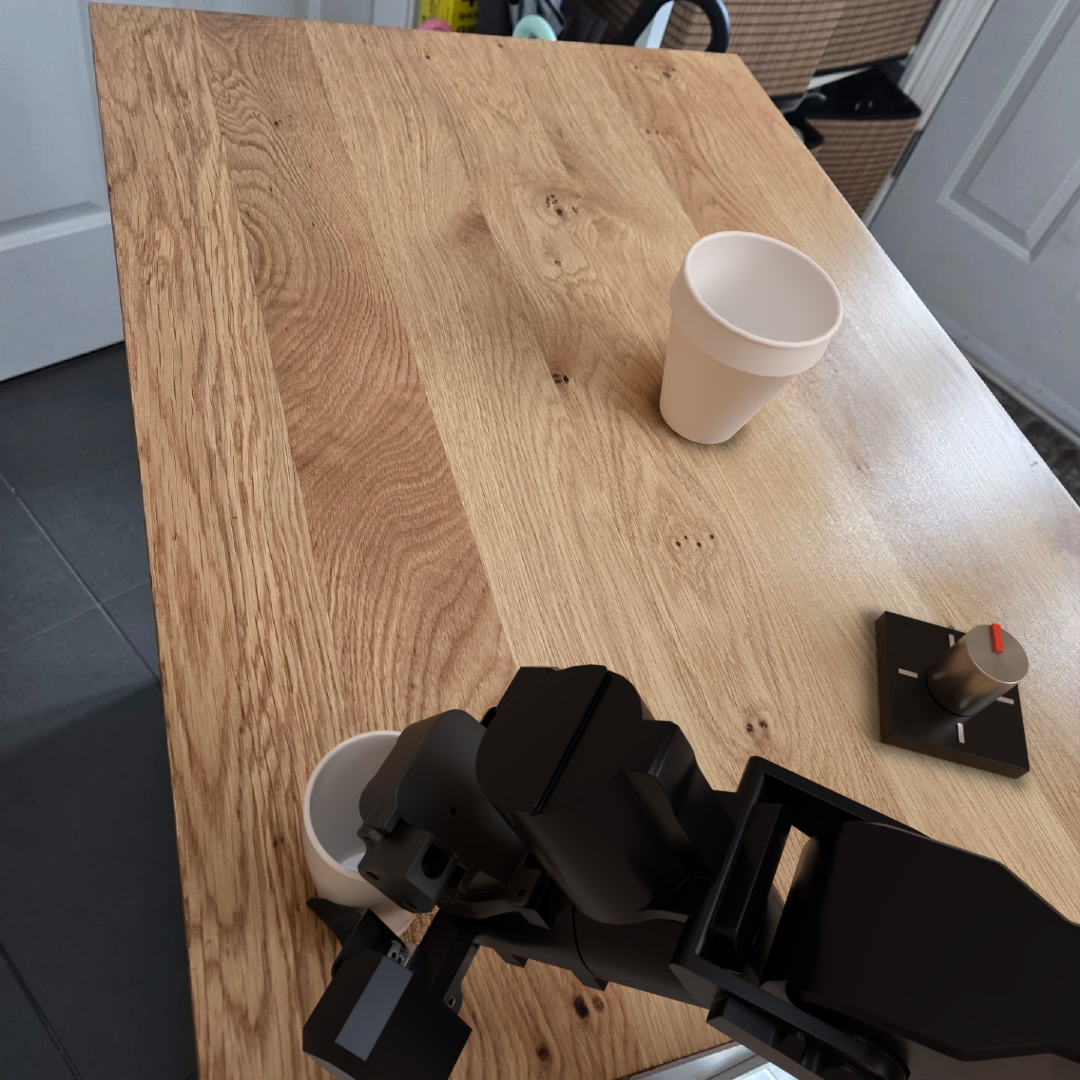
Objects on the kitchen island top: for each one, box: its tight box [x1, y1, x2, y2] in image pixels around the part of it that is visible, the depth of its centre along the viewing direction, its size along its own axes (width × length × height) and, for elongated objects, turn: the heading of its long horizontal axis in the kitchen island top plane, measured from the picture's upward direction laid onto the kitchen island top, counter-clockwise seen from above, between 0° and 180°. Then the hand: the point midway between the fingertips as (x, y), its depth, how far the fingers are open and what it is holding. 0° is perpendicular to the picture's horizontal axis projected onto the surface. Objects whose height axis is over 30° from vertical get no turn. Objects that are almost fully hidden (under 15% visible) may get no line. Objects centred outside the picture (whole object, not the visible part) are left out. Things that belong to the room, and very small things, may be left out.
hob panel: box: [875, 610, 1031, 779], centre depth 68 cm, size 10×10×2 cm
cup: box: [659, 230, 844, 445], centre depth 74 cm, size 12×12×14 cm
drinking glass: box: [301, 729, 417, 938], centre depth 46 cm, size 7×7×15 cm
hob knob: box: [927, 622, 1030, 716], centre depth 65 cm, size 4×4×5 cm
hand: (353, 842), depth 47 cm, fingers closed on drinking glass, 6 cm apart
